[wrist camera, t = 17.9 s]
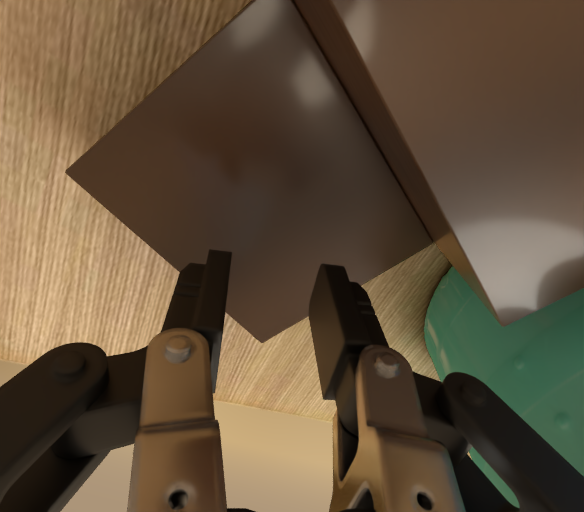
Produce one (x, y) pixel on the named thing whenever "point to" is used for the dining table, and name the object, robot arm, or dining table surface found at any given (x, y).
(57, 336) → the dining table surface
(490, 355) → the bucket
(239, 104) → the step shelf
